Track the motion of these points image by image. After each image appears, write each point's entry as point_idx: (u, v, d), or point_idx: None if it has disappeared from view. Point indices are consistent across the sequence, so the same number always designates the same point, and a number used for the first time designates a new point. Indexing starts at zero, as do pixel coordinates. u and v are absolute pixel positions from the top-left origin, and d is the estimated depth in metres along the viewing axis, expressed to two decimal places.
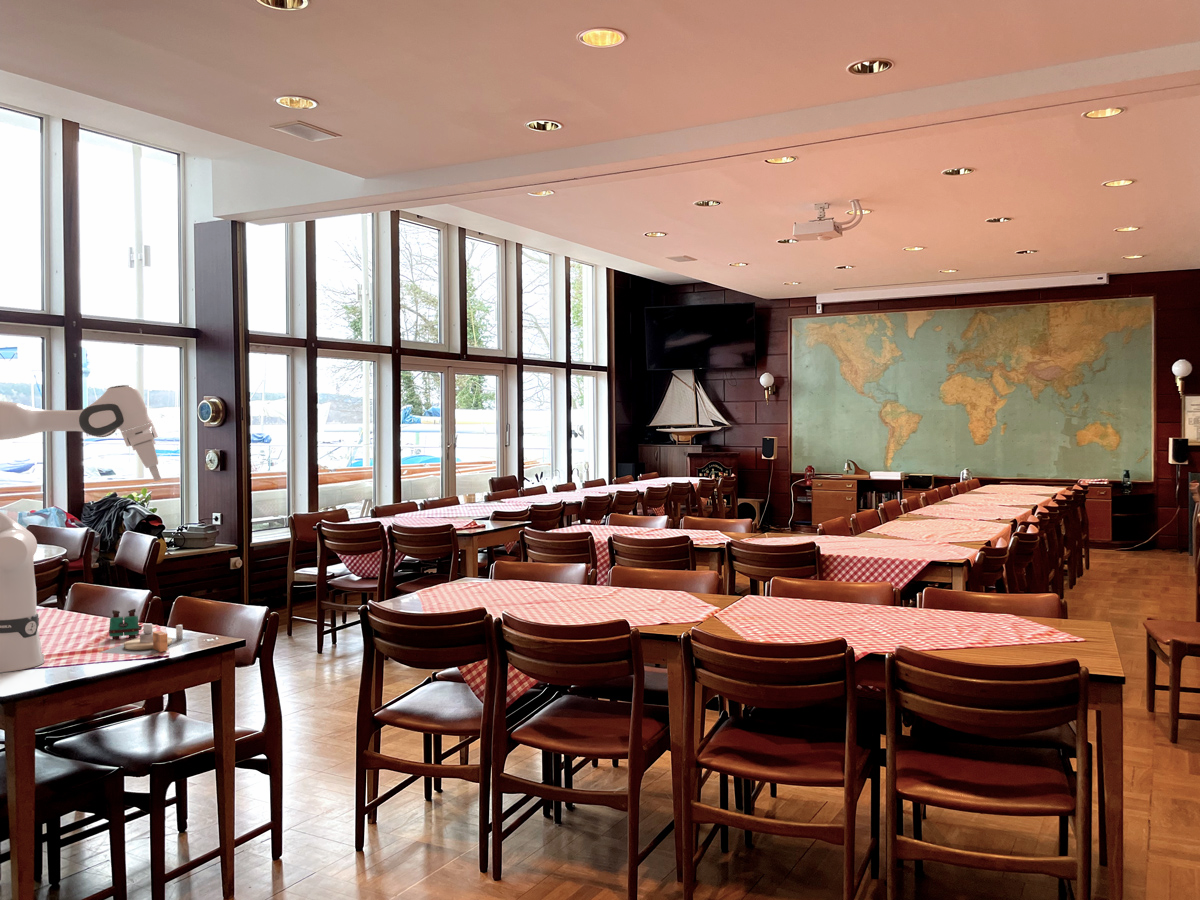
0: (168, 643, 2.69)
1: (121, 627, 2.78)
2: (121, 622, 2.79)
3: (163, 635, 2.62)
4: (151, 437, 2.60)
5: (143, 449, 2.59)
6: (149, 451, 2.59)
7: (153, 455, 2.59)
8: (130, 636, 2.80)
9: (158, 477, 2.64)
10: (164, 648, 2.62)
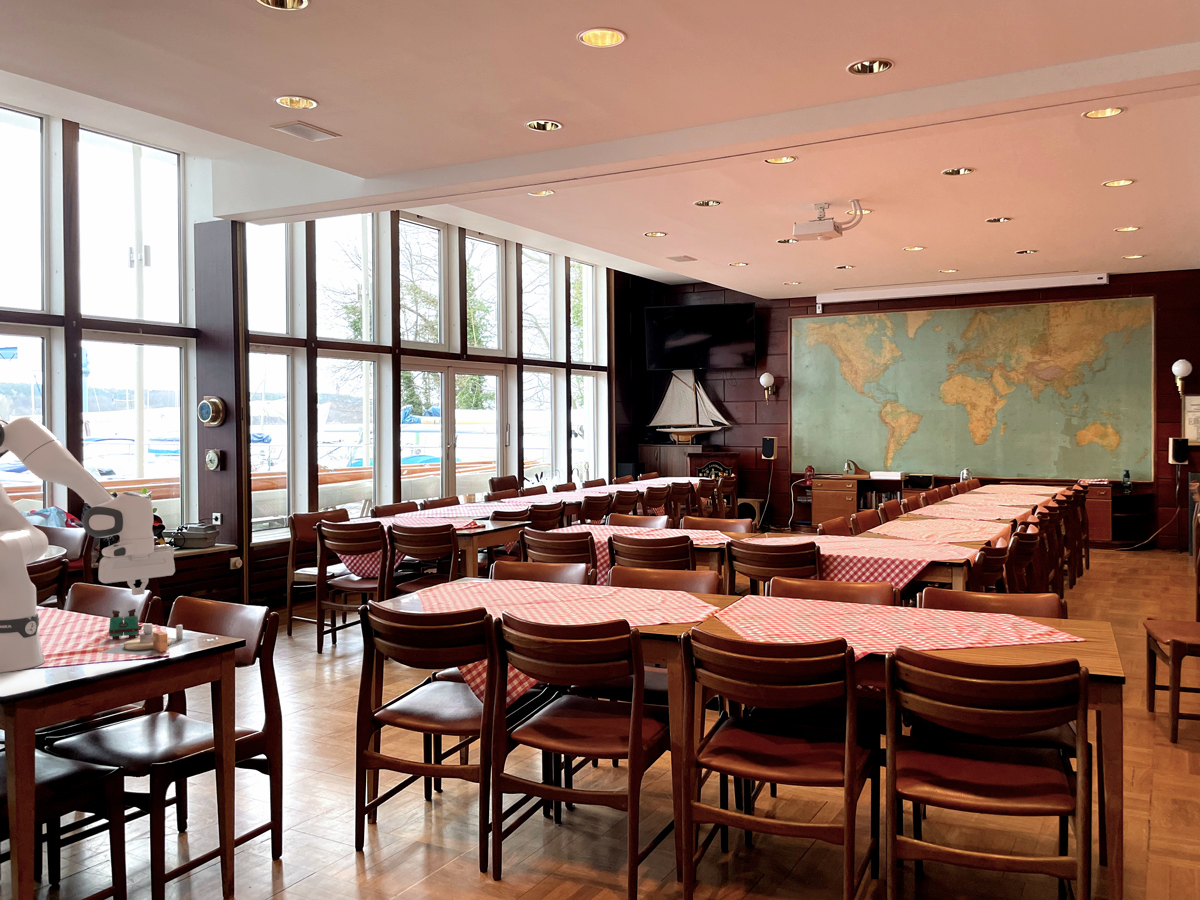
0: (168, 643, 2.69)
1: (121, 627, 2.78)
2: (121, 622, 2.79)
3: (163, 635, 2.62)
4: (109, 555, 2.52)
5: (101, 563, 2.53)
6: (102, 567, 2.52)
7: (102, 573, 2.52)
8: (130, 636, 2.80)
9: (133, 593, 2.59)
10: (164, 648, 2.62)
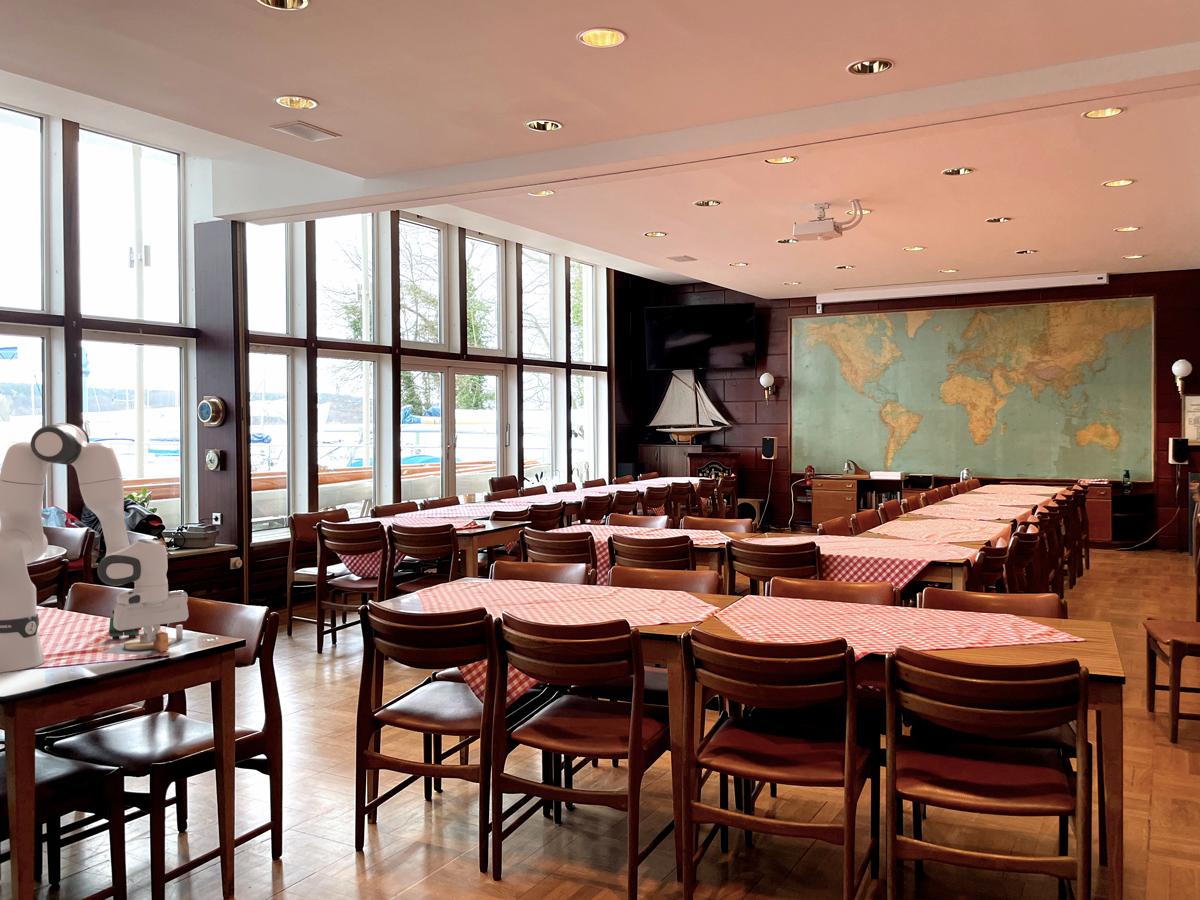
0: (168, 643, 2.70)
1: None
2: None
3: (164, 635, 2.62)
4: (123, 603, 2.55)
5: (116, 610, 2.56)
6: (117, 615, 2.55)
7: (117, 621, 2.55)
8: (130, 636, 2.80)
9: (149, 638, 2.62)
10: (165, 648, 2.62)
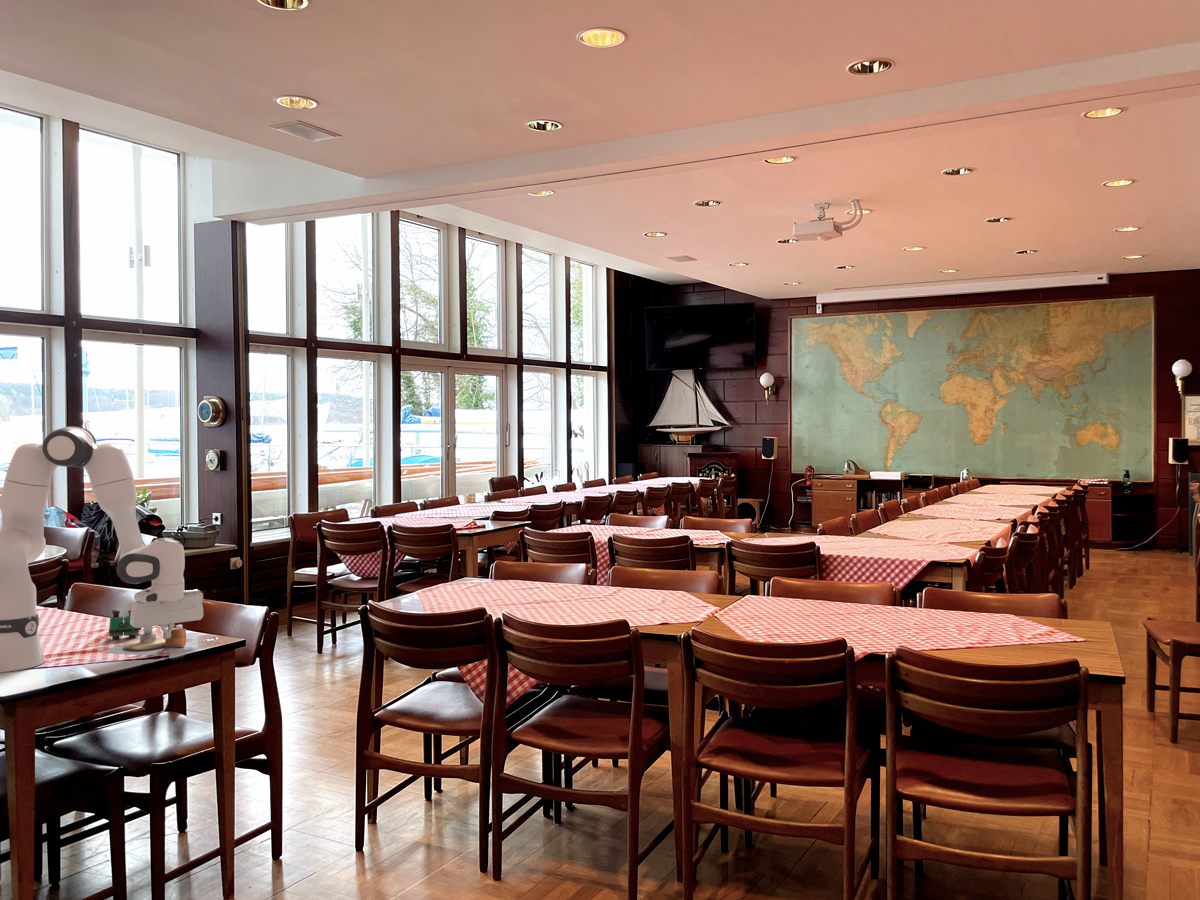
0: None
1: (121, 627, 2.78)
2: (121, 622, 2.79)
3: (183, 630, 2.68)
4: (141, 601, 2.58)
5: (133, 608, 2.60)
6: (134, 612, 2.59)
7: (133, 618, 2.58)
8: (130, 636, 2.80)
9: (165, 636, 2.66)
10: (184, 643, 2.68)
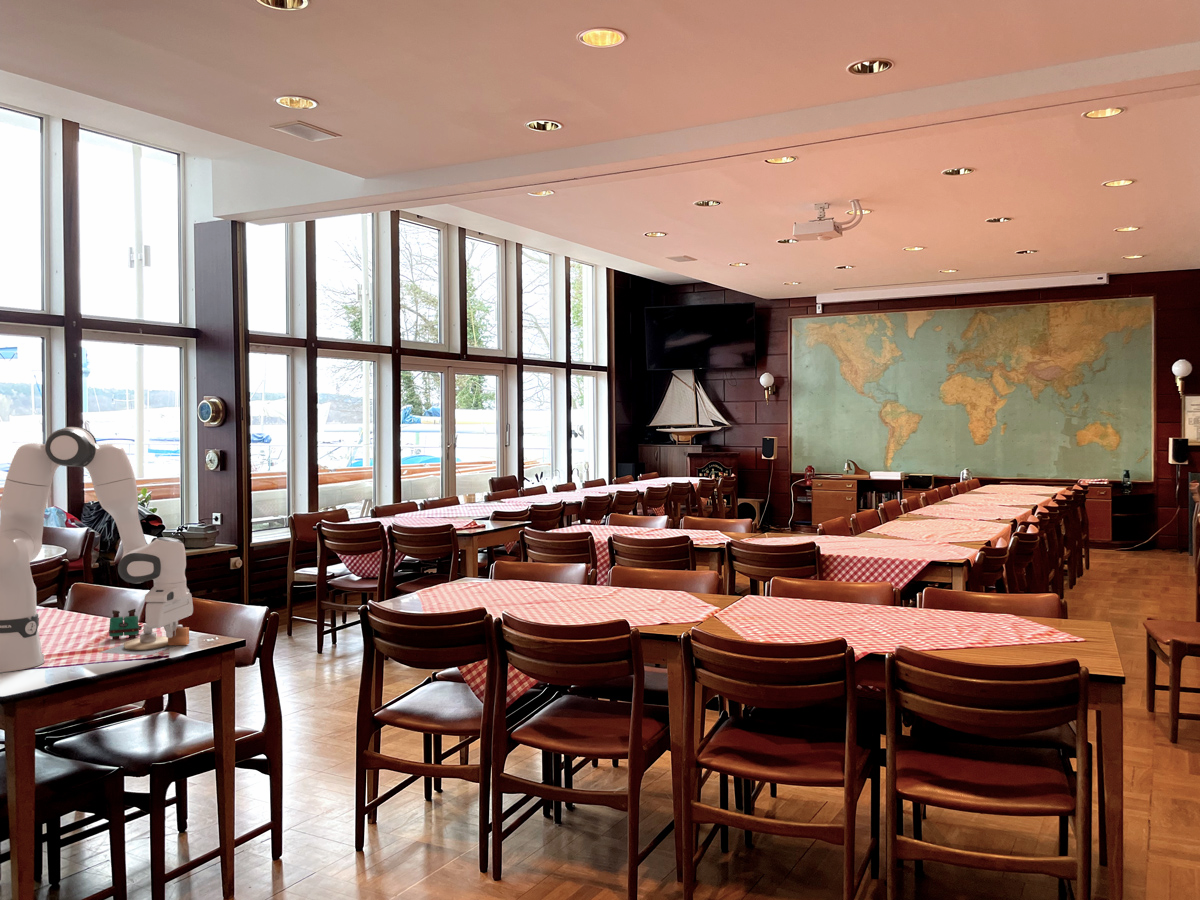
0: None
1: (121, 627, 2.78)
2: (121, 622, 2.79)
3: (187, 629, 2.70)
4: (163, 600, 2.59)
5: (150, 609, 2.58)
6: (154, 613, 2.58)
7: (156, 619, 2.58)
8: (130, 636, 2.80)
9: (170, 635, 2.67)
10: (187, 641, 2.70)
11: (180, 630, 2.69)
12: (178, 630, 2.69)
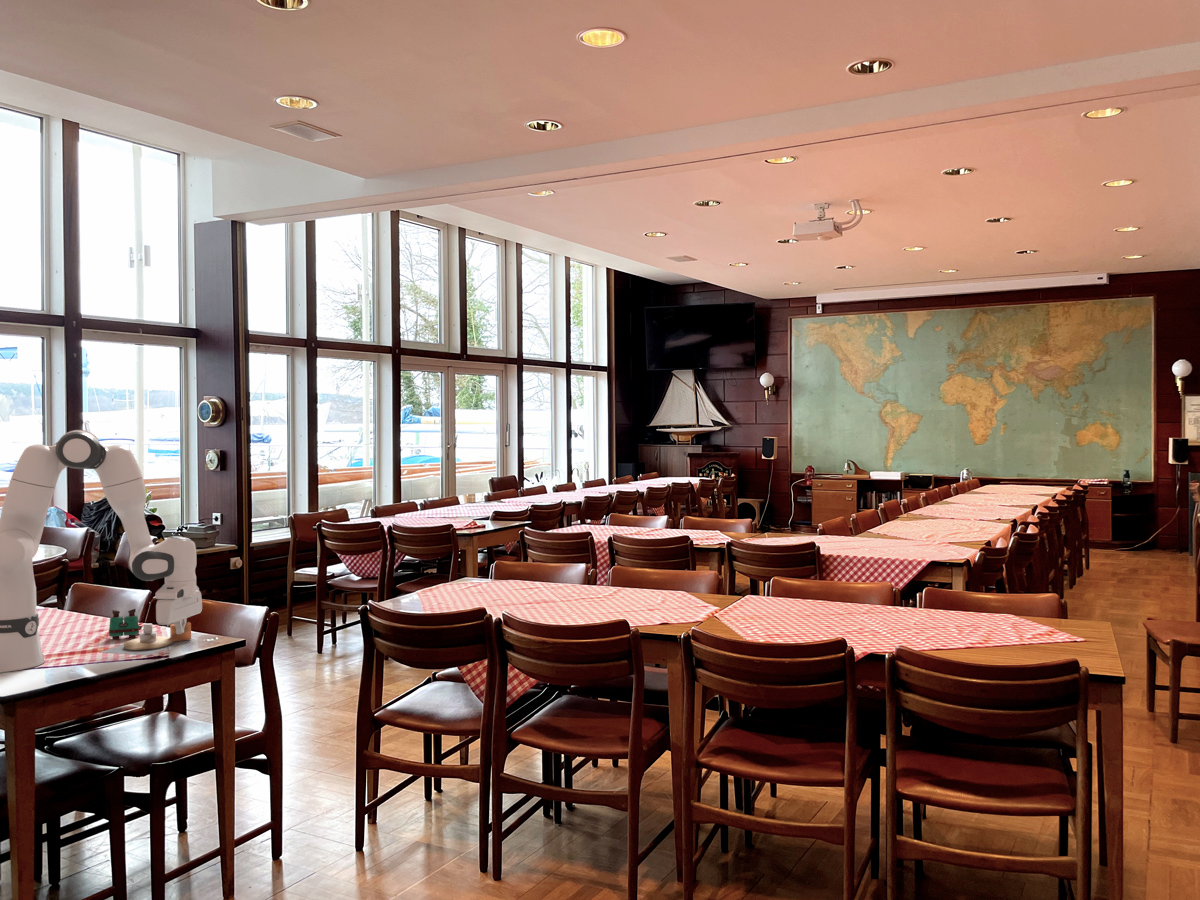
0: None
1: (121, 627, 2.78)
2: (121, 622, 2.79)
3: None
4: (173, 597, 2.65)
5: (161, 606, 2.64)
6: (164, 610, 2.64)
7: (166, 616, 2.63)
8: (130, 636, 2.80)
9: (180, 632, 2.73)
10: None
11: (185, 625, 2.76)
12: None
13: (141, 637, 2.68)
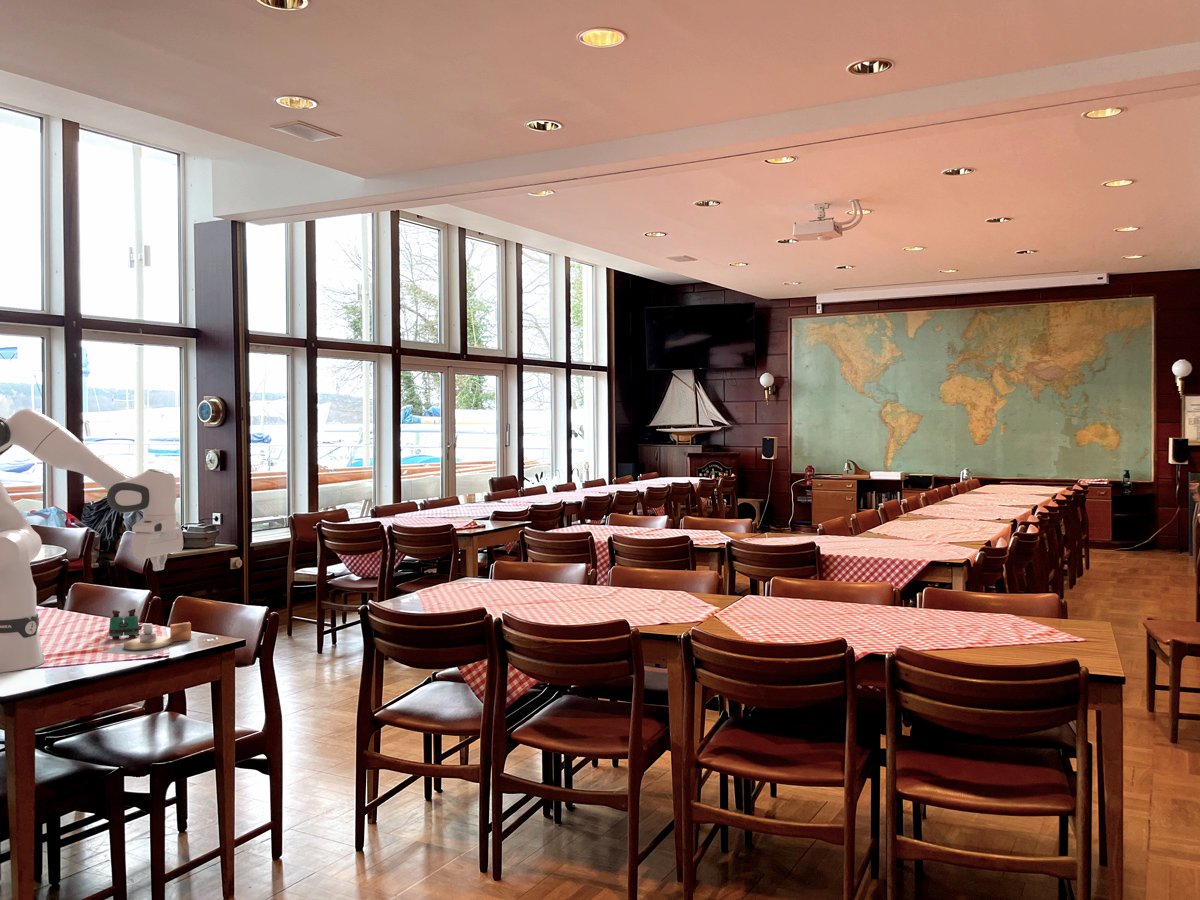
0: None
1: (121, 627, 2.78)
2: (121, 622, 2.79)
3: None
4: (150, 531, 2.56)
5: (137, 539, 2.55)
6: (141, 543, 2.55)
7: (142, 549, 2.54)
8: (130, 636, 2.80)
9: (157, 568, 2.63)
10: None
11: (185, 625, 2.76)
12: (183, 625, 2.75)
13: (141, 637, 2.68)
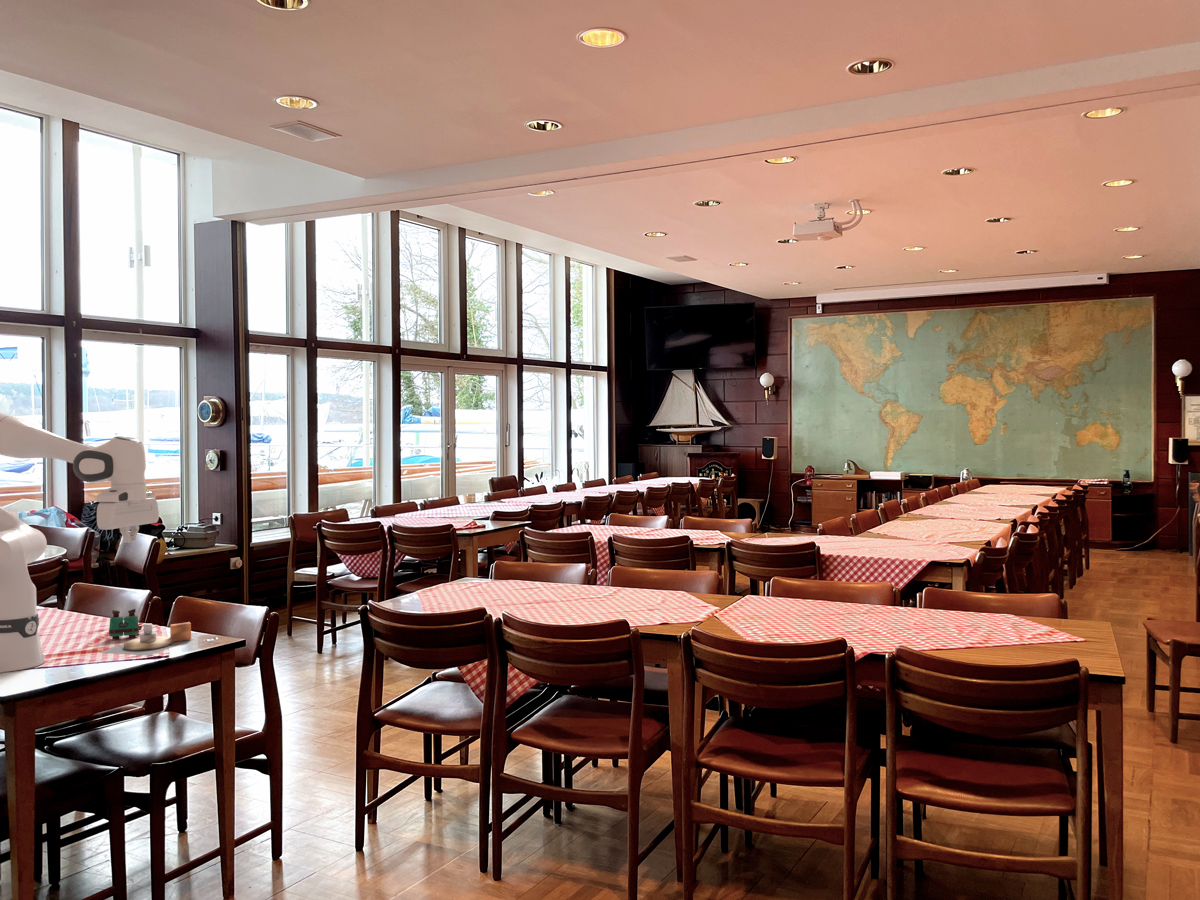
0: None
1: (121, 627, 2.78)
2: (121, 622, 2.79)
3: None
4: (114, 500, 2.44)
5: (101, 509, 2.44)
6: (105, 513, 2.43)
7: (106, 519, 2.43)
8: (130, 636, 2.80)
9: (127, 540, 2.52)
10: None
11: (185, 625, 2.76)
12: (183, 625, 2.75)
13: (141, 637, 2.68)
